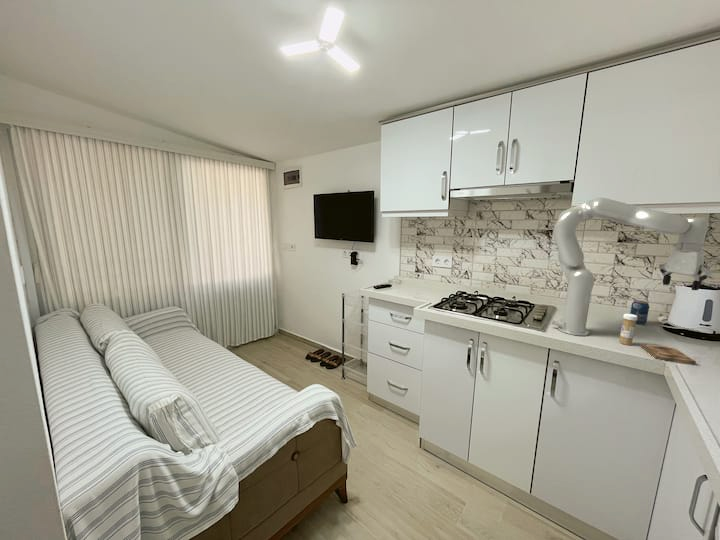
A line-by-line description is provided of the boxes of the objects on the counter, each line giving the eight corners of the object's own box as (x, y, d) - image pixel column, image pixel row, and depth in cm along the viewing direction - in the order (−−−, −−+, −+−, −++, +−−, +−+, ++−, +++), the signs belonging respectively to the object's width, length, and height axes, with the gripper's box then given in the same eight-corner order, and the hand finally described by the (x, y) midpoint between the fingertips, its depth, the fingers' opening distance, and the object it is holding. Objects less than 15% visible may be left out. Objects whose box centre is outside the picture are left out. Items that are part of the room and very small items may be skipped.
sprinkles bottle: (616, 341, 137) (621, 313, 135) (625, 341, 137) (630, 313, 135) (625, 345, 132) (631, 316, 130) (635, 345, 133) (640, 316, 131)
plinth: (655, 359, 120) (656, 354, 119) (640, 347, 131) (640, 342, 130) (695, 365, 116) (696, 359, 115) (675, 352, 127) (676, 347, 126)
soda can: (636, 325, 159) (640, 303, 157) (625, 320, 166) (629, 299, 164) (649, 325, 159) (653, 303, 157) (637, 321, 166) (641, 300, 164)
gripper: (658, 245, 133) (649, 283, 136) (711, 250, 117) (701, 292, 120) (669, 245, 135) (661, 282, 138) (723, 250, 119) (713, 292, 122)
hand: (679, 287), depth 129 cm, fingers open, 9 cm apart
